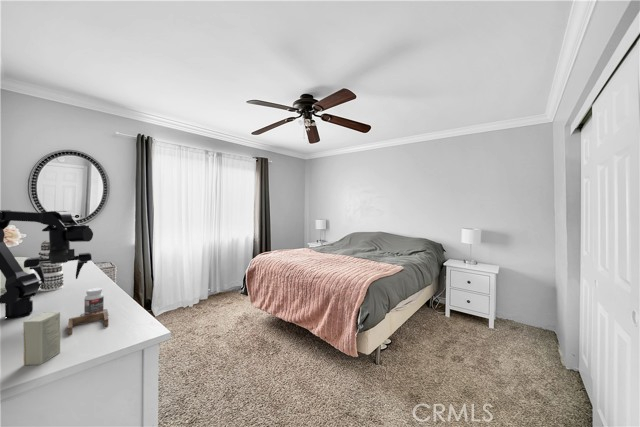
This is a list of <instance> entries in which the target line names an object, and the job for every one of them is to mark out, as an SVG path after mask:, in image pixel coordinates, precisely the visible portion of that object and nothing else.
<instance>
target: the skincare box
mask: <svg viewBox="0 0 640 427" xmlns="http://www.w3.org/2000/svg"><path fill="white" fill-rule="evenodd" d="M60 353H61V312H58V311H57V312H54V311H53V312H43V313H40V314H38V315H36V316H34V317H30V318H29V319H26V320H24V321H23V366H27V365H28V366H30V365H31V366H33V365H34V366H35V365H36V366H37V365H42V364H44V363H45V362H47V361H48V360H50V359H51V358H53V357H56V355H58V354H60Z"/></svg>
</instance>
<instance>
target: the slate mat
mask: <svg viewBox="0 0 640 427" xmlns="http://www.w3.org/2000/svg"><path fill="white" fill-rule="evenodd" d="M105 311H107V315H108V317H109V311H108V308H105V309H104V308H103V312H105ZM80 316H85V315H84V313H80Z"/></svg>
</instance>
